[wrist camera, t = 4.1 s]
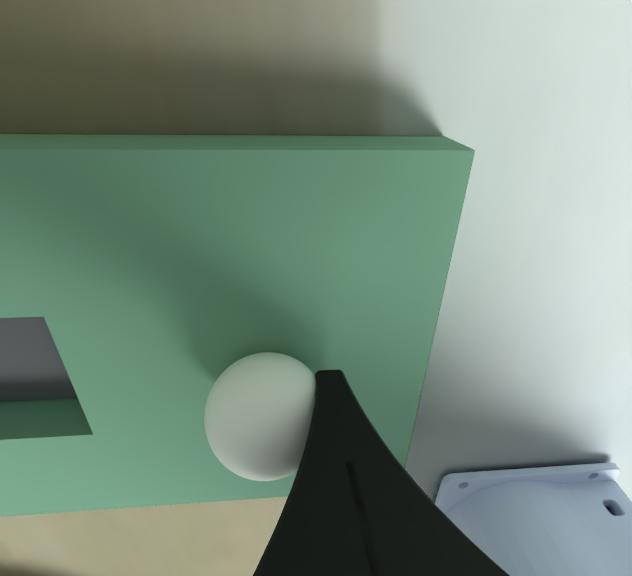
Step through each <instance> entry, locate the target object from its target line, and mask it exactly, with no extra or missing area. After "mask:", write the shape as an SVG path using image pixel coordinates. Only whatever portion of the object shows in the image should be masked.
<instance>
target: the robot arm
mask: <svg viewBox="0 0 632 576" xmlns="http://www.w3.org/2000/svg"><path fill="white" fill-rule="evenodd" d="M315 377H316V396H315V403H314V410H313V415H312V420H311V425H310V429H309V433H308V437H307V441H306V444H305V448H304V451H303V455H302V458H301V462H300V465H299V468H298V471H297V474H296V477H295V479H294V482H293V485H292V488H291V491H290V493H289V496H288V498H287V501H286V503H285V506H284V508H283V511H282V513H281V516H280V518H279V521H278V523H277V525H276V528H275V530H274V532H273V534H272V536H271V539H270V541H269V543H268V545H267V547H266V549H265V551H264V554H263V556H262V558H261V560H260V562H259V564H258V566H257V568H256V570H255V572H254V574H253V576H632V502H631V500H630V499H629V498H628V497H627V495H626V494H625V493H624V492H623V490H622V489H621V488H620V487H619V485H618V484H617V483H616V482H615V480H616V478H617V477H618V475H619V474H620V469H619V468H618V467H617V465H616V464H614V463H595V464H581V465H566V466H552V467H537V468H523V469H508V470H494V471H479V472H464V473H452V474H448V475H446V476H445V477H444V478H443V479H442V481H441V485H440V488H439V491H438V494H437V498H436V501H435V504H434V503H433V501H432V500H431V499H430V498H429V497H428V496H427V495H426V494H425V493H424V491H423V490H422V489H421V488H420V487H419V486H418V485H417V483H416V482H415V481H414V480H413V479H412V477H411V476H410V475H409V474H408V473H407V471H406V470H405V469H404V468H403V466H402V465H401V464H400V463H399V461H398V460H397V459H396V457H395V456H394V455H393V453H392V452H391V451H390V449H389V448H388V447H387V445H386V444H385V442H384V441H383V440H382V438H381V437H380V435H379V434H378V432H377V431H376V429H375V428H374V426H373V425H372V423H371V422H370V420H369V419H368V417H367V415H366V414H365V412H364V411H363V409H362V407H361V406H360V404H359V402H358V400H357V399H356V397H355V395H354V393H353V391H352V389H351V388H350V386H349V384H348V381H347V379H346V377H345V375H344V373H343V372H342V371H341V370H340V369H338V370H319V371H318V372H316V373H315Z"/></svg>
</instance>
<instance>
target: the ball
mask: <svg viewBox="0 0 632 576" xmlns="http://www.w3.org/2000/svg"><path fill="white" fill-rule="evenodd" d="M315 396H316V377H315V375H314V374H313V372H312V371H311V370H310V369H309V368H308V367H307V366H306V365H304V364H303V363H302V362H300V361H298V360H297V359H295V358H293V357H290V356H288V355H285V354H280V353H274V352H261V353H256V354H252V355H249V356H246V357H244V358H242V359H240V360H238V361H236V362H235V363H233V364H232V365H230V366H229V367H228V368H227V369H226V370H225V371H224V372H223V373H222V374H221V375H220V376H219V378H218V379H217V380H216V382H215V383H214V385H213V387H212V389H211V391H210V393H209V396H208V398H207V402H206V406H205V414H204V425H205V433H206V436H207V440H208V443H209V445H210V447H211V449H212V451H213V453H214V454H215V456H216V457H217V459H218V460H219V461H220V462H221V463H222V464H223V465H224V466H225V467H226V468H227V469H229V470H230V471H232V472H233V473H235V474H237V475H239V476H241V477H243V478H246V479H250V480H255V481H272V480H277V479H280V478H284V477H287V476H289V475H291V474H293V473H294V472H296V471H298V468H299V465H300V462H301V458H302V455H303V451H304V448H305V444H306V441H307V437H308V433H309V429H310V425H311V420H312V415H313V410H314V403H315Z"/></svg>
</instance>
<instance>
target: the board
mask: <svg viewBox="0 0 632 576" xmlns="http://www.w3.org/2000/svg"><path fill="white" fill-rule="evenodd" d="M474 152H475V150H473V149H471V148H469V147H466V146H464V145H462V144H460V143H458V142H456V141H454V140H451V139H449V138H447V137H445V136H289V135H105V134H0V517H3V516H17V515H31V514H45V513H59V512H73V511H87V510H101V509H115V508H129V507H143V506H157V505H171V504H186V503H200V502H214V501H228V500H242V499H256V498H270V497H284V496H289V493H290V491H291V488H292V485H293V482H294V479H295V477H296V474H297V471H296V472H294V473H293V474H291V475H289V476H287V477H284V478H280V479H277V480H272V481H255V480H250V479H246V478H243V477H241V476H239V475H237V474H235V473H233V472H232V471H230V470H229V469H227V468H226V467H225V466H224V465H223V464H222V463H221V462H220V461H219V460H218V459H217V457H216V456H215V454H214V453H213V451H212V449H211V447H210V445H209V443H208V440H207V436H206V433H205V425H204V414H205V406H206V402H207V398H208V396H209V393H210V391H211V389H212V387H213V385H214V383H215V382H216V380H217V379H218V378H219V376H220V375H221V374H222V373H223V372H224V371H225V370H226V369H227V368H228V367H229V366H230V365H232V364H233V363H235V362H236V361H238V360H240V359H242V358H244V357H246V356H249V355H252V354H256V353H261V352H274V353H280V354H285V355H288V356H290V357H293V358H295V359H297V360H298V361H300V362H302V363H303V364H304V365H306V366H307V367H308V368H309V369H310V370H311V371H312V372H313V374H314V375H315V373H316V372H318V371H319V370H338V369H340V370H341V371H342V372H343V373H344V375H345V377H346V379H347V381H348V384H349V386H350V388H351V389H352V391H353V393H354V395H355V397H356V399H357V400H358V402H359V404H360V406H361V407H362V409H363V411H364V412H365V414H366V415H367V417H368V419H369V420H370V422H371V423H372V425H373V426H374V428H375V429H376V431H377V432H378V434H379V435H380V437H381V438H382V440H383V441H384V442H385V444H386V445H387V447H388V448H389V449H390V451H391V452H392V453H393V455H394V456H395V457H396V459H397V460H398V461H399V463H400V464H401V465H402V466H403V468H405V464H406V459H407V455H408V450H409V446H410V441H411V437H412V432H413V428H414V423H415V419H416V414H417V410H418V405H419V401H420V396H421V392H422V387H423V383H424V378H425V374H426V369H427V364H428V360H429V355H430V351H431V346H432V342H433V337H434V333H435V328H436V324H437V319H438V315H439V310H440V306H441V301H442V297H443V292H444V288H445V283H446V279H447V274H448V270H449V265H450V261H451V256H452V252H453V247H454V242H455V238H456V233H457V229H458V224H459V220H460V215H461V211H462V206H463V202H464V197H465V193H466V188H467V184H468V179H469V175H470V170H471V166H472V161H473V157H474Z"/></svg>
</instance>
